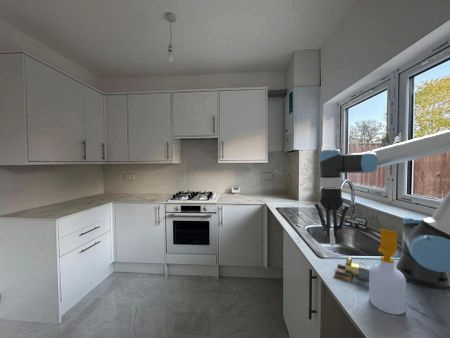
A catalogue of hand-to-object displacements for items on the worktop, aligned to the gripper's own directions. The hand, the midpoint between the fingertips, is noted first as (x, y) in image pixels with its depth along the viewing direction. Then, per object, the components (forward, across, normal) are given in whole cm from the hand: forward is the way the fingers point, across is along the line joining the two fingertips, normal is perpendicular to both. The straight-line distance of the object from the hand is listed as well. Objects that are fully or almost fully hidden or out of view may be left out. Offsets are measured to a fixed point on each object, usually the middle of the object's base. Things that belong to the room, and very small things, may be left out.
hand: (332, 244), depth 86 cm
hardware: (+10, -8, 0) cm, 13 cm away
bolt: (+10, -8, 0) cm, 13 cm away
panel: (+12, -8, 0) cm, 14 cm away
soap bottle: (+12, -17, +13) cm, 24 cm away
